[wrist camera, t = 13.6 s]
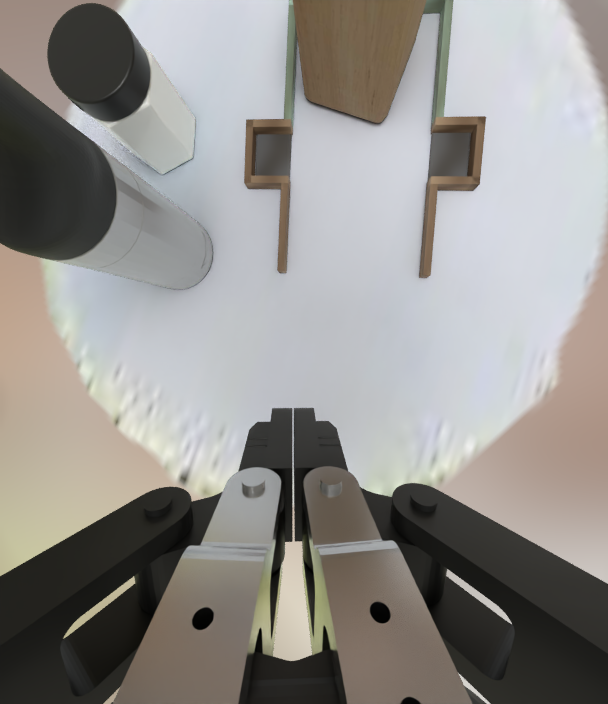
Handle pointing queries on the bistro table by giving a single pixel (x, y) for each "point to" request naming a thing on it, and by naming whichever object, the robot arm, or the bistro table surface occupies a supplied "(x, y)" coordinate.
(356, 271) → the bistro table surface
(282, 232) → the notched outline frame
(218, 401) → the bistro table surface
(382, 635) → the robot arm
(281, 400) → the bistro table surface
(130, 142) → the jar
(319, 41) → the block
